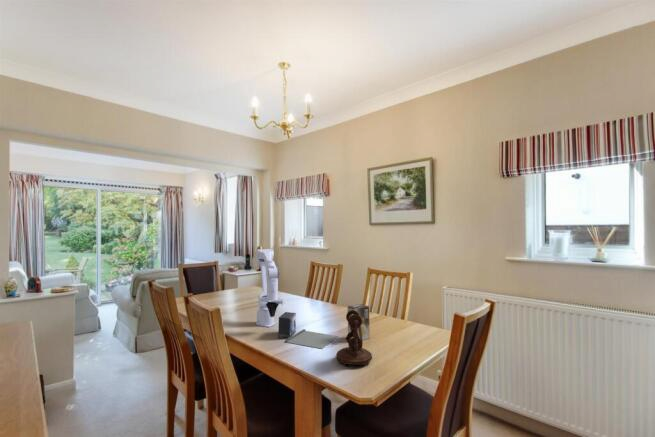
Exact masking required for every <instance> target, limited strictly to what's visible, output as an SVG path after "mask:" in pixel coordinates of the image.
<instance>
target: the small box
mask: <svg viewBox="0 0 655 437" xmlns="http://www.w3.org/2000/svg"><path fill="white" fill-rule="evenodd" d="M296 324H297V312H291V311H290V312H288V311H285V312H283V313H282V314H281V315H280V316H278V330H277V332H278V333H277V334H278V336H277V338H278V339H285V340H286V339H288V338H290V337H291V336H293V335H295V334H296V333H297V332H296V330H297V325H296Z"/></svg>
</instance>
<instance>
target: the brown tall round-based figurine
mask: <svg viewBox="0 0 655 437" xmlns="http://www.w3.org/2000/svg"><path fill="white" fill-rule="evenodd" d="M345 315H346V316H345V319H346V321H347V324H348V323H349V325H350V330H351V332H350V333H348V332H347V335H346V338H345V339H346V342H347V344H348V346H347V347H343V348H341V349H339V350H338V351H337V352H336V355H335V357H336V359H337V360H338V361H339V362H340V363H342V365H343V366H344V367H346V365H352V366H354V365H364V364H366V365H367V366H369V364H370V362H371V361H372V360H373V354H372V352H370V351H369V350H367V349H366V348H364V347H363V344H364V343H363V341H364V340H362V330H361V324H362V319H361V317H360V316H359V314H358V312H357V311H355V310H351V311H349V312H348V311H347V313H346V314H345ZM358 329H359V335H360V339H359V335H358V332H357V331H358Z"/></svg>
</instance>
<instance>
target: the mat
mask: <svg viewBox="0 0 655 437" xmlns="http://www.w3.org/2000/svg"><path fill="white" fill-rule="evenodd" d="M337 338H338V335H332V334H329V333H328V334H327V333H322V332H321V333H320V332H316V331H310V330H306V329H305V328H303V329H301V330H300V331H298V332H295V333H294V334H293V336H291V337H290V338H288V339H286V338H285V340H284V343H287V344H293V345H298V346H303V347H307V348H308V347H309V348H314V349H320V350H323V349H325V347H326V346H328V345H330V343H331V342H333V341H334V340H335V339H337Z"/></svg>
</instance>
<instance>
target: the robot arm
mask: <svg viewBox="0 0 655 437" xmlns="http://www.w3.org/2000/svg"><path fill="white" fill-rule="evenodd" d="M274 253H275V252H274V249H273V248H265V249H263V248H260V249H256V252H255V256H256V257H255V258H256V259H255V260H256V264H257V266H259V268H260V271H261V272H260V273H261V286H262V292H260V294H259V295H258V298H257V299H258V301H257V303H258V306H257V307H258V309H257V311H256V324H255V325H256V326H259V327H266V328H270V327H272V326H275V325H277V323H278V322H277V321H275V315H276V312H277V308H278V307H279V304H281V305H285V304H286V300H285V299H283V298H279V278H280V269H279V267H278V266H276V263H275V261H274V255H275V254H274Z"/></svg>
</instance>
